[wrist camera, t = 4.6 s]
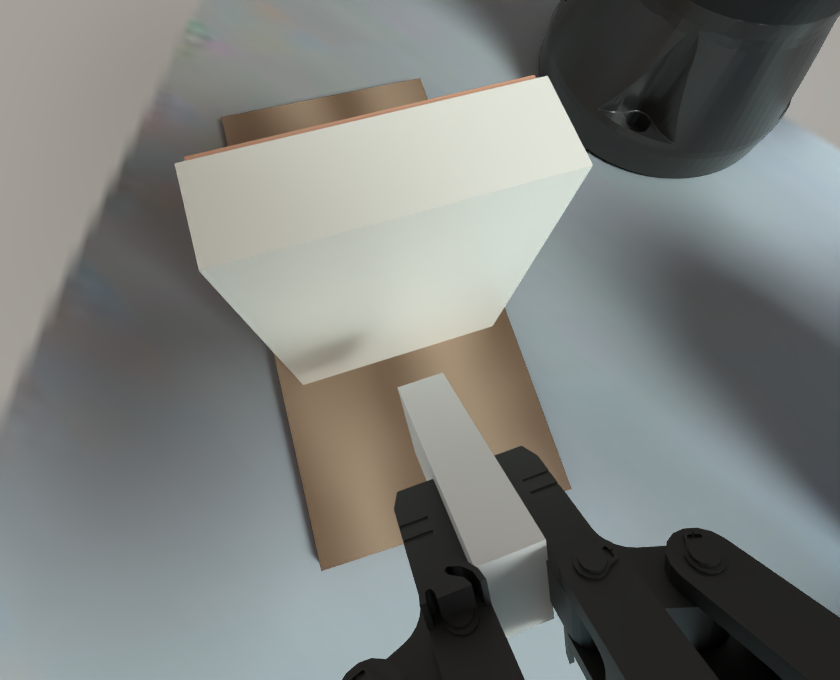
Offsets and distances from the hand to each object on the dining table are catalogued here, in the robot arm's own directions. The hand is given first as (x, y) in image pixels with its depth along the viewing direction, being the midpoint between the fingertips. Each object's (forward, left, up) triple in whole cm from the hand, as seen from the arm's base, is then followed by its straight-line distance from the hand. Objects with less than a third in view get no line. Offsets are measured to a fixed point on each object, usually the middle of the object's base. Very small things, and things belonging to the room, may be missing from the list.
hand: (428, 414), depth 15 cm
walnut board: (0, -8, -9) cm, 12 cm away
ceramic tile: (0, -6, -8) cm, 10 cm away
